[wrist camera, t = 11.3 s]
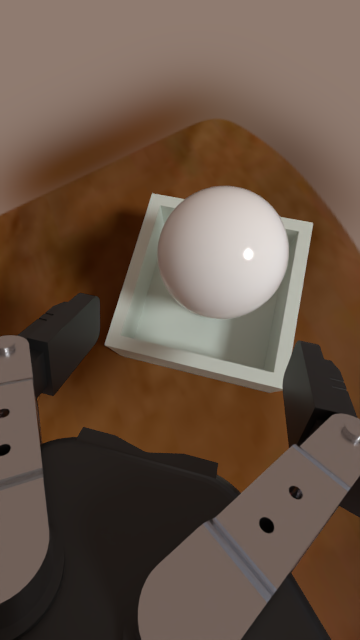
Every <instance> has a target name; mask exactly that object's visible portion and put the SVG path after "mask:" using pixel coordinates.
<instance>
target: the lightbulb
mask: <svg viewBox="0 0 360 640" xmlns="http://www.w3.org/2000/svg"><path fill="white" fill-rule="evenodd" d="M288 258H289V243H288V237H287V233H286V230H285V227H284V224H283V222H282V220H281V218H280V216H279V215H278V213H277V212H276V211H275V209H274V208H273V207H272V206H271V205H270V204H269V203H268V202H267V201H266V200H264V199H263V198H262V197H260V196H259V195H257V194H255V193H254V192H251V191H249V190H246V189H243V188H240V187H234V186H216V187H210V188H206V189H203V190H201V191H198V192H196V193H194V194H192V195H190V196H189V197H187V198H186V199H185V200H183V201H182V202H181V203H180V204H179V205H178V206H177V207H176V208H175V209H174V210H173V211H172V213H171V214H170V215H169V217H168V218H167V220H166V222H165V224H164V226H163V228H162V231H161V234H160V237H159V242H158V249H157V260H158V267H159V272H160V275H161V278H162V280H163V283H164V285H165V287H166V288H167V290H168V291H169V293H170V294H171V295H172V297H173V298H174V299H175V300H176V301H177V302H178V303H179V304H180V305H182V306H183V307H184V308H186V309H187V310H189V311H191V312H192V313H194V314H197V315H199V316H202V317H206V318H211V319H232V318H237V317H240V316H243V315H246V314H248V313H250V312H252V311H254V310H256V309H258V308H259V307H260V306H262V305H263V304H264V303H265V302H267V301H268V300H269V299H270V298H271V297H272V295H273V294H274V293H275V292H276V290H277V289H278V287H279V285H280V284H281V282H282V280H283V277H284V275H285V272H286V269H287V265H288Z"/></svg>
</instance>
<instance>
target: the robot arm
mask: <svg viewBox="0 0 360 640" xmlns="http://www.w3.org/2000/svg"><path fill="white" fill-rule="evenodd" d="M99 333H100V300H99V297H97V296H93V295H88V294H84V293H79V294H77V295H76V296H75V297H74V298H73V299H72V300H70V301H69V302H63V303H60V304H58V305H55V306H53V307H52V308H51V309H49V310H48V311H47V312H46V314H43V315H42V316H41V317H40V318H39V319H37V320H36V321H35V322H33V323H32V324H31V325H30V326H29V327H27V328H26V329H25V330H24V331H22V332H21V333H20V334H19V335H17V336H14V335H7V336H1V337H0V640H331V639H330V637H329V635H328V634H327V632H326V630H325V629H324V627H323V625H322V624H321V622H320V620H319V619H318V617H317V615H316V614H315V612H314V610H313V609H312V607H311V605H310V604H309V602H308V600H307V599H306V597H305V595H304V594H303V592H302V590H301V588H300V587H299V585H298V583H297V582H296V580H295V578H294V577H293V575H292V573H291V572H292V571H293V570H294V568H295V567H296V565H297V564H298V563H299V561H300V560H301V558H302V557H303V555H304V554H305V553H306V551H307V550H308V548H309V547H310V546H311V544H312V543H313V541H314V540H315V539H316V537H317V536H318V534H319V533H320V532H321V530H322V529H323V527H324V526H325V525H326V523H327V522H328V521H329V519H330V518H331V516H332V515H333V514H334V512H335V511H336V509H337V508H338V507H339V506H341V507H342V508H344V509H346V510H348V511H349V512H351V513H353V514H355V515H356V516H358V517H360V419H358V418H357V416H356V413H355V410H354V408H353V405H352V402H351V399H350V397H349V394H348V391H346V386H345V383H343V381H344V380H343V378H342V375H341V372H340V370H339V369H338V368H337V367H336V366H335V365H334V364H333V363H332V361H330V360H325V359H324V358H323V355H322V352H321V348H320V346H319V345H317V344H313V343H308V342H303V341H297V343H296V345H295V347H294V350H293V352H292V355H291V357H290V360H289V363H288V365H287V368H286V370H285V373H284V377H283V385H282V387H283V397H284V406H285V415H286V424H287V433H288V442H289V449H288V450H287V451H286V452H285V453H284V454H283V455H282V456H281V457H279V458H278V459H277V460H276V461H275V462H274V463H273V464H272V465H271V466H270V467H269V468H268V469H267V470H266V471H264V472H263V473H262V474H261V475H260V476H259V477H258V478H257V479H256V480H255V481H254V482H253V483H252V484H251V485H250V486H248V487H247V488H246V489H245V490H244V491H243V492H242V493H240V492H239V491H238V490H237V489H236V488H235V487H234V486H233V485H232V484H230V483H229V482H228V481H226V480H225V479H223V478H222V477H220V476H218V475H217V467H218V463H216V462H212V461H208V460H205V459H201V458H197V457H194V456H190V455H186V454H173V453H148V452H144V451H142V450H141V449H139V448H137V447H135V446H133V445H131V444H130V443H128V442H126V441H124V440H122V439H121V438H119V437H117V436H115V435H111V434H108V433H104V432H100V431H96V430H93V429H89V428H85V427H83V429H82V430H81V432H80V434H79V435H78V437H70V438H62V439H56V440H53V441H49V442H46V443H42V435H41V427H40V419H39V410H38V402H37V398H38V396H39V395H40V394H41V393H44V394H48V395H52V396H54V395H55V393H56V392H57V391H58V390H59V388H60V387H61V386H62V385H63V383H64V382H65V381H66V380H67V378H68V377H69V376H70V375H71V373H72V372H73V371H74V370H75V368H76V367H77V366H78V365H79V363H80V362H81V361H82V360H83V358H84V357H85V356H86V355H87V353H88V352H89V351H90V350H91V348H92V347H93V346H94V345H95V343H96V342H97V340H98V337H99Z"/></svg>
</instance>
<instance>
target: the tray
mask: <svg viewBox="0 0 360 640" xmlns="http://www.w3.org/2000/svg"><path fill="white" fill-rule="evenodd" d="M183 200H185V199H180V198H174V197H169V196H164V195H158V194H153V193H152V196H151V199H150V202H149V205H148V209H147V212H146V215H145V218H144V221H143V224H142V228H141V231H140V234H139V237H138V240H137V243H136V246H135V250H134V253H133V256H132V259H131V262H130V265H129V269H128V272H127V275H126V278H125V281H124V284H123V288H122V291H121V294H120V297H119V300H118V303H117V306H116V310H115V313H114V316H113V319H112V322H111V325H110V329H109V332H108V335H107V338H106V341H105V344H104V345H105V346H107V347H108V348H110V349H111V350H113V351H115V352H116V353H118V354H119V355H121V356H124V357H128V358H132V359H136V360H140V361H144V362H148V363H152V364H156V365H160V366H164V367H168V368H172V369H176V370H180V371H184V372H188V373H192V374H196V375H200V376H204V377H208V378H212V379H216V380H220V381H224V382H228V383H232V384H236V385H240V386H244V387H248V388H252V389H256V390H260V391H264V392H268V393H270V392H276V391H282V390H283V387H282V385H283V377H284V373H285V370H286V368H287V365H288V363H289V360H290V357H291V353H292V347H293V341H294V335H295V329H296V323H297V317H298V311H299V305H300V299H301V293H302V287H303V281H304V275H305V269H306V263H307V257H308V251H309V245H310V239H311V233H312V227H313V223H310V222H305V221H300V220H294V219H289V218H283V217H280V218H281V220H282V222H283V224H284V227H285V230H286V233H287V237H288V243H289V258H288V265H287V269H286V272H285V275H284V277H283V280H282V282H281V284H280V285H279V287H278V289H277V290H276V292H275V293H274V294H273V295H272V297H271V298H270V299H269V300H268V301H267V302H265V303H264V304H263V305H262V306H260V307H259V308H258V309H256V310H254V311H252V312H250V313H248V314H246V315H243V316H240V317H237V318H232V319H211V318H206V317H202V316H199V315H197V314H194V313H192V312H191V311H189V310H187V309H186V308H184V307H183V306H182V305H180V304H179V303H178V302H177V301H176V300H175V299H174V298H173V297H172V295H171V294H170V293H169V291H168V290H167V288H166V287H165V285H164V283H163V280H162V278H161V275H160V272H159V267H158V260H157V249H158V242H159V237H160V234H161V231H162V228H163V226H164V224H165V222H166V220H167V218H168V217H169V215H170V214H171V213H172V211H173V210H174V209H175V208H176V207H177V206H178V205H179V204H180V203H181V202H182V201H183Z"/></svg>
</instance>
